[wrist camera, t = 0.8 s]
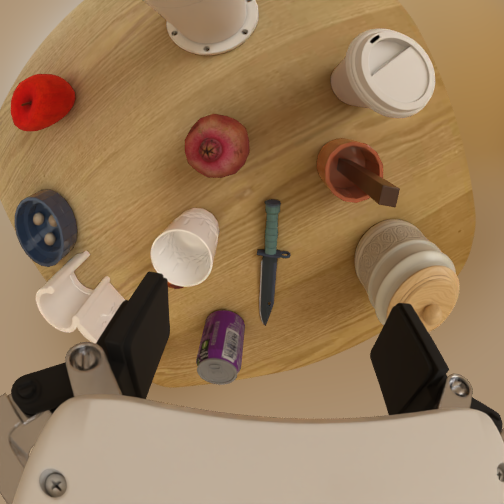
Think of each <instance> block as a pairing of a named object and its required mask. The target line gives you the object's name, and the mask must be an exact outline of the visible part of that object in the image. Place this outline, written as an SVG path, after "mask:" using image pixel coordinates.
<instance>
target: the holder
mask: <svg viewBox="0 0 504 504" xmlns="http://www.w3.org/2000/svg"><path fill="white" fill-rule="evenodd" d="M339 158H342V159H347V160H351V161H353V162H355V163H357V164H358V165H360V166H362V167H364V168H366V169H367V170H369V171H371V172H373V173H374V174H376V175H378V176H380V177H381V178H383V164H382V162H381V160H380V158H379V156H378V154H377V152H376V151H375V150H373V149H372V148H371V147H370V146H368V145H367V144H364V143H361V142H358V141H354V140H350V139H345V138H339V139H334V140H332V141H330V142H328V143H327V144H326V145H324V147H323V148H322V149H321V150H320V152H319V155H318V158H317V171H318V174H319V176H320V178H321V179H322V181H323V183H324V184H325V185H326V186H327V187H328V189H329V190H330V191H331V192H332V193H333V194H334V195H336V196H337V197H339V198H340V199H341V200H343V201H348V202H354V203H357V202H360V201H363V200H367V199H369V198H370V196H369V195H367V194H366V193H365V192H364V191H362V190H361V189H360V188H359V187H358V186H356V185H355V184H354V183H353V182H351V181H350V180H349V179H348V178H346V177H345V176H344V175H342V174H341V173H340V172H339V171H337V165H338V159H339Z"/></svg>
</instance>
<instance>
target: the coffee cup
mask: <svg viewBox="0 0 504 504" xmlns="http://www.w3.org/2000/svg"><path fill="white" fill-rule="evenodd" d="M331 87H332V90H333V92H334V93H335V95H336V96H337V97H338V98H339V99H340V100H341V101H342V102H344V103H346V104H349V105H353V106H359V107H364V108H370V109H372V110H374V111H375V112H377V113H379V114H381V115H384V116H387V117H391V118H405V117H409V116H412V115H414V114H416V113H418V112H419V111H420V110H422V109H423V108H424V107H425V105H426V104H427V103H428V101H429V100H430V98H431V96H432V94H433V91H434V87H435V73H434V69H433V66H432V63H431V61H430V59H429V57H428V55H427V54H426V52H425V51H424V50H423V48H422V47H421V46H420V45H419V44H418V43H417V42H415V41H414V40H413V39H411V38H410V37H408V36H406V35H404V34H401V33H399V32H396V31H393V30H389V29H371V30H367V31H365V32H363V33H361V34H359V35H358V36H357V37H355V38H354V40H353V41H352V42H351V44H350V45H349V48H348V50H347V54H346V57H345V58H344V59H343V60H342V61H341V62H340V64H339V65H338V66H337V67H336V68H335V70H334V71H333V73H332V75H331Z"/></svg>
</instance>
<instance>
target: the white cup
mask: <svg viewBox="0 0 504 504" xmlns="http://www.w3.org/2000/svg"><path fill="white" fill-rule="evenodd" d="M218 235H219V225H218V221H217V220H216V219H215V217H214V216H213V214H212V213H210V212H208V211H207V210H205V209H202V208H191V209H188V210H186V211H184V212H183V213H182V214H181V215H180V216H179V217H177V218H176V219H175V220H174V221H173V222H172V223H170V224H169V225H168V226H167V227H166V229H165V230H164V231H163V232H162V233H161V234H160V235H159V236H158V237H157V238H156V239H155V241H154V242H153V244H152V247H151V261H152V264H153V266H154V268H155V270H156V271H157V273H161V274H163V278H167V281H168V282H169V283H171V284H174V285H177V286H182V287H190V286H195V285H197V284H200V283H201V282H203V281H204V280H205V279H206V278H207V277H208V276H209V274H210V272H211V269H212V265H213V261H214V257H215V253H216V248H217V243H218Z"/></svg>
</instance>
